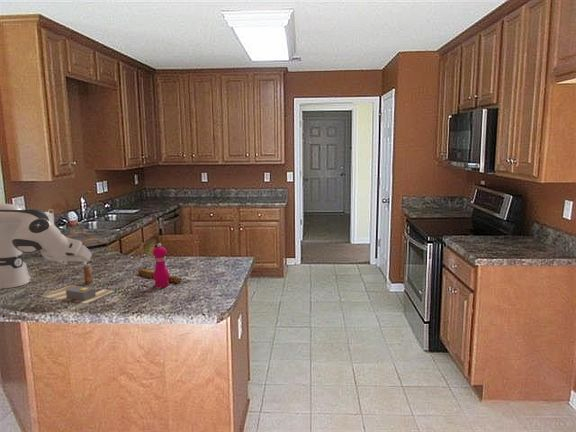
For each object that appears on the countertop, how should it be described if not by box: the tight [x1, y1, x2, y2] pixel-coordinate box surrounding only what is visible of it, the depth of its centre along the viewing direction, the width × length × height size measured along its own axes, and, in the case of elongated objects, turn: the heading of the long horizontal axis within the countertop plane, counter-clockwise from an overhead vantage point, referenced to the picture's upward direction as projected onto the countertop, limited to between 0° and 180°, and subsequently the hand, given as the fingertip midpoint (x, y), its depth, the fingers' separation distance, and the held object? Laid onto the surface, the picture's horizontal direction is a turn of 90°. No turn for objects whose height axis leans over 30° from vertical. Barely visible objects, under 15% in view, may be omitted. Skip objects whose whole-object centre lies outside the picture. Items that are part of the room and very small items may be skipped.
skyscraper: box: [41, 208, 55, 258], centre depth 265 cm, size 8×8×28 cm
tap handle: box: [137, 268, 182, 285], centre depth 216 cm, size 3×3×30 cm
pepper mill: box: [152, 243, 170, 288], centre depth 203 cm, size 7×7×20 cm
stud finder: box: [66, 285, 96, 301], centre depth 187 cm, size 10×6×4 cm, turn 69°
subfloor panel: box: [40, 284, 115, 304], centre depth 192 cm, size 26×16×1 cm, turn 68°
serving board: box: [67, 231, 110, 248], centre depth 295 cm, size 39×23×6 cm, turn 38°
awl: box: [83, 261, 94, 285], centre depth 206 cm, size 3×3×13 cm
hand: (75, 263), depth 195 cm, fingers open, 8 cm apart
